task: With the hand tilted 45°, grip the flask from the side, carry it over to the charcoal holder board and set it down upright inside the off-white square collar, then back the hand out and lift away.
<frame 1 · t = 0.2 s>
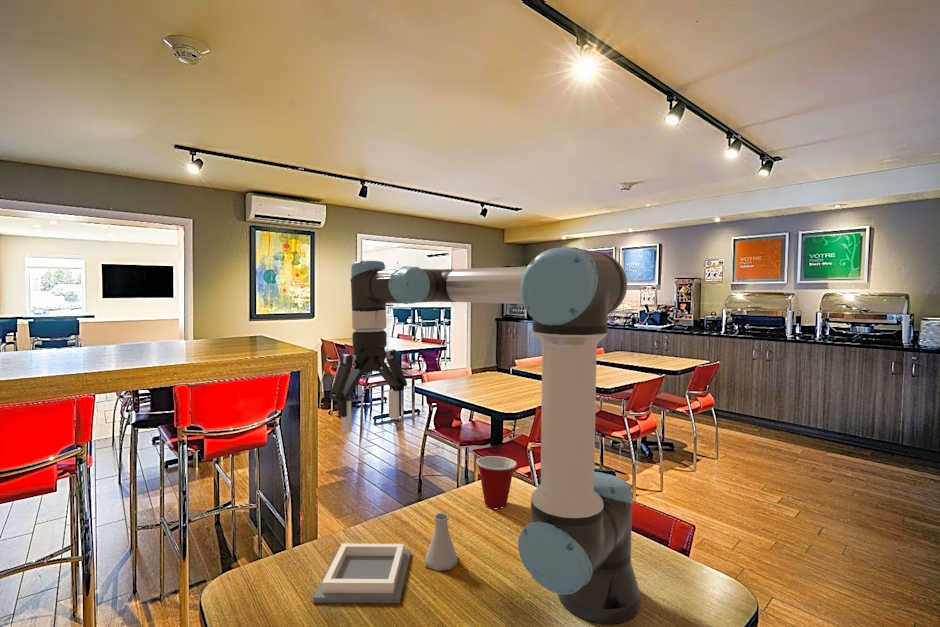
hand: (371, 424, 106), 27 cm above the table, tool pointing down, fingers open, 13 cm apart
flask: (441, 562, 100), on the table
plastic cup: (496, 504, 126), on the table
holder: (366, 576, 95), on the table
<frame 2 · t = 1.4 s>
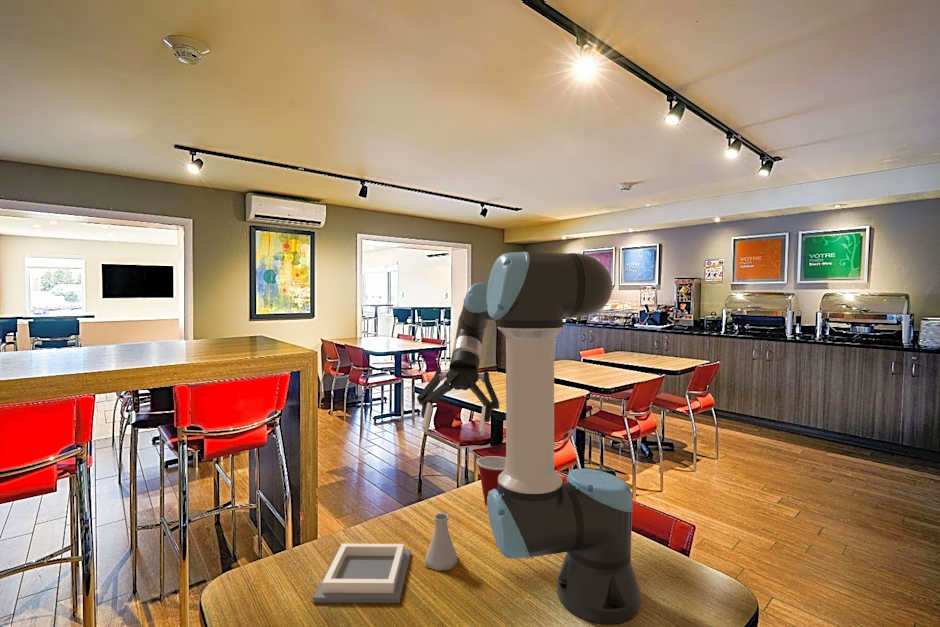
hand: (452, 431, 109), 25 cm above the table, tool tilted 45°, fingers open, 13 cm apart
nothing on the table moved.
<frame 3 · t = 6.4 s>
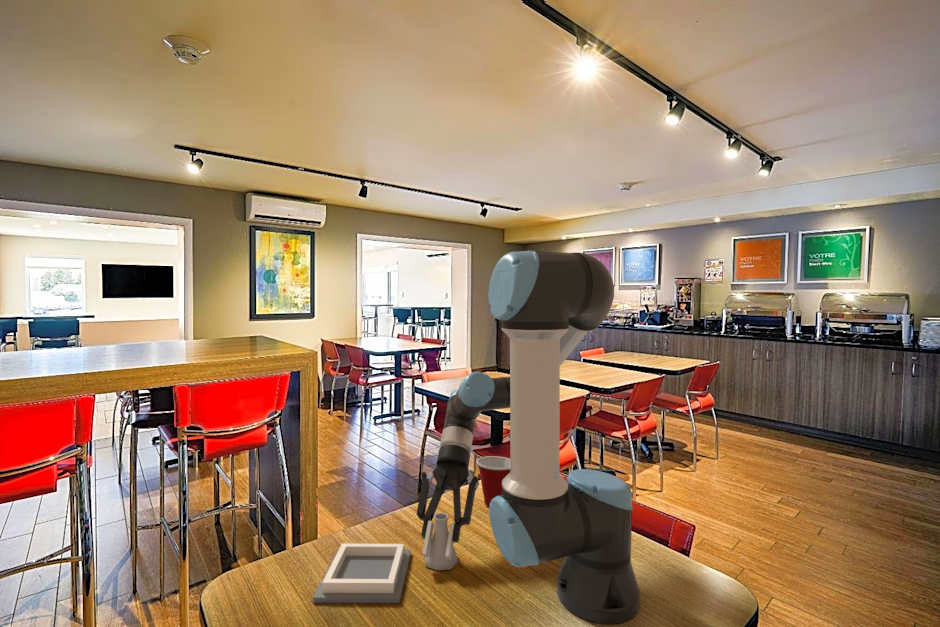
hand: (436, 556, 96), 3 cm above the table, tool tilted 45°, fingers closed on flask, 4 cm apart
flask: (441, 562, 100), on the table, touching gripper
everything else where it was.
when the fingers open (5 cm above the table, at t = 11.1 s): flask stays where it is, resting on holder.
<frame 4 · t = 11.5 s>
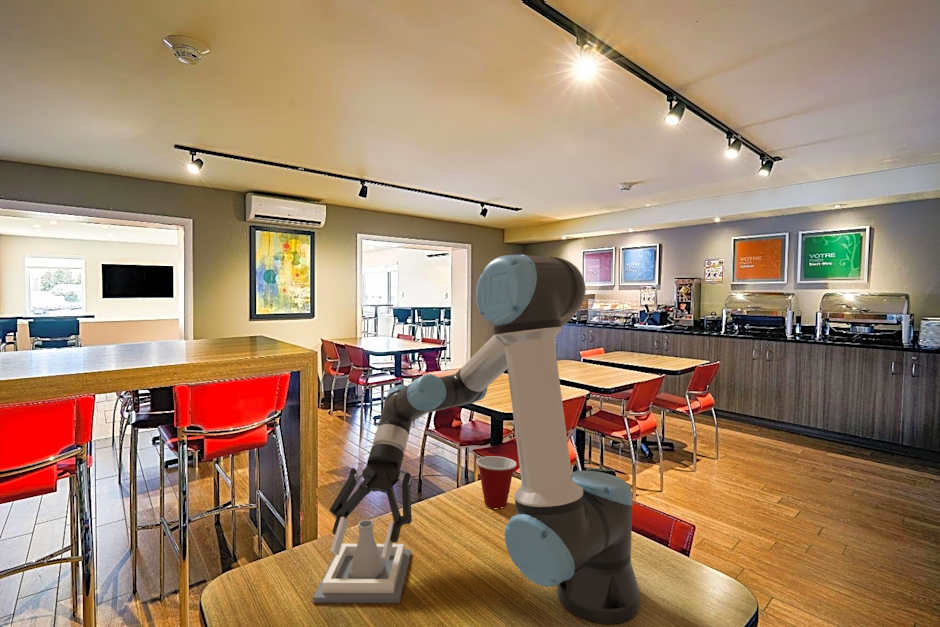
hand: (359, 556, 92), 6 cm above the table, tool tilted 45°, fingers open, 10 cm apart
flask: (366, 572, 95), point 1 cm above the table, touching holder
everything else where it was.
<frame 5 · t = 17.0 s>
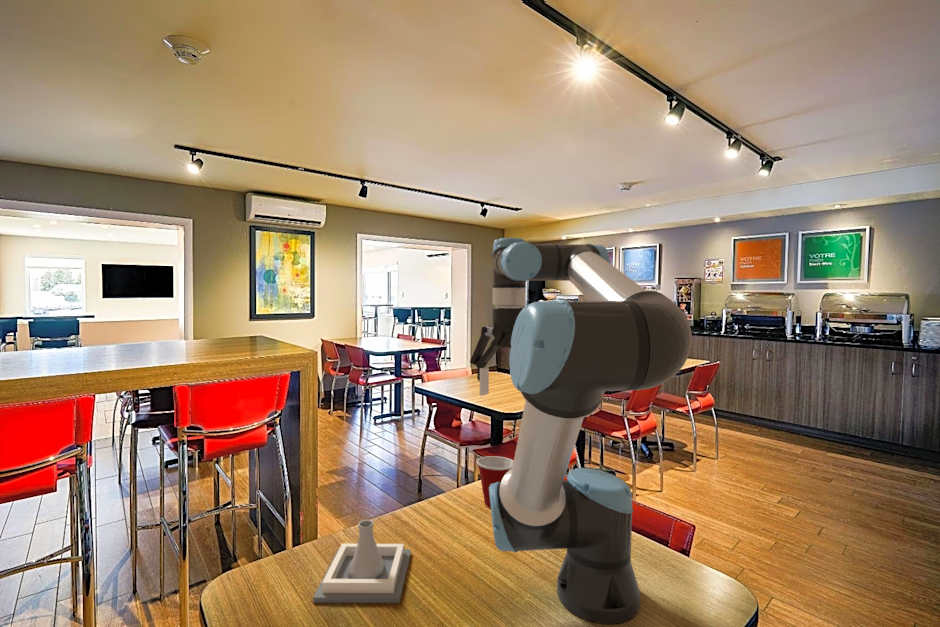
hand: (508, 398, 108), 33 cm above the table, tool pointing down, fingers open, 13 cm apart
nothing on the table moved.
at the end: flask 0.1 cm off-centre on the holder, point 0.8 cm above the holder's base; flask tilted 0°; the gripper is holding nothing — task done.
